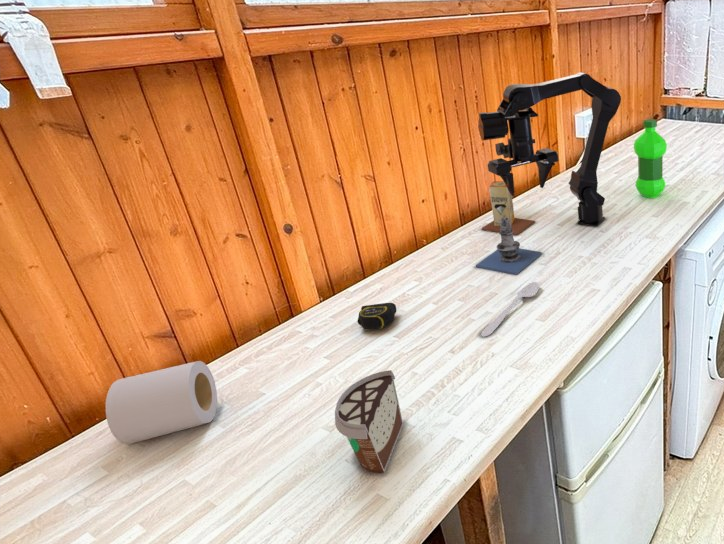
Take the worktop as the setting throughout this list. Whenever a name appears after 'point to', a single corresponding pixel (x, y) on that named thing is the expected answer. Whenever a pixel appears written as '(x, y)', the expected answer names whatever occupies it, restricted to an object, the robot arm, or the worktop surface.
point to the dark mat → (516, 226)
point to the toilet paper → (161, 402)
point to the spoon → (525, 292)
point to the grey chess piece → (507, 242)
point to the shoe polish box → (501, 202)
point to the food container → (371, 419)
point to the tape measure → (376, 316)
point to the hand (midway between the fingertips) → (527, 191)
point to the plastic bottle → (650, 160)
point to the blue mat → (513, 267)
